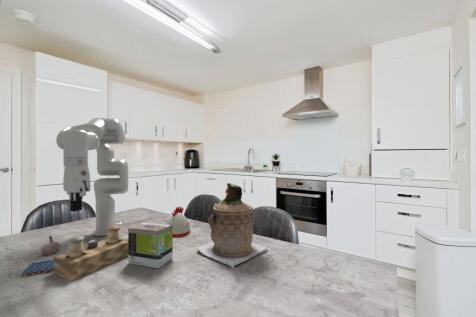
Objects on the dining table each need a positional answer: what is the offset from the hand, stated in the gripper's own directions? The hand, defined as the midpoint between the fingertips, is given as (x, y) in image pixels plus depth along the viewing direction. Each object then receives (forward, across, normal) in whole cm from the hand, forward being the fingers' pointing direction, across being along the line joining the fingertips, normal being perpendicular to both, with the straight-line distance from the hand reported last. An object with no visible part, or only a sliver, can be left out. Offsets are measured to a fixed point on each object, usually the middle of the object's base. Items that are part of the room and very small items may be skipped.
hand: (76, 210), depth 84 cm
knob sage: (+19, 0, 0) cm, 19 cm away
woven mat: (+24, +14, +4) cm, 28 cm away
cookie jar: (+23, -45, -42) cm, 66 cm away
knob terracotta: (+18, 0, -15) cm, 24 cm away
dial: (+17, +3, -8) cm, 19 cm away
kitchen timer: (+23, -5, -51) cm, 56 cm away
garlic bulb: (+23, +29, -5) cm, 38 cm away
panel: (+23, 0, -8) cm, 24 cm away
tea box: (+23, -19, -19) cm, 35 cm away
